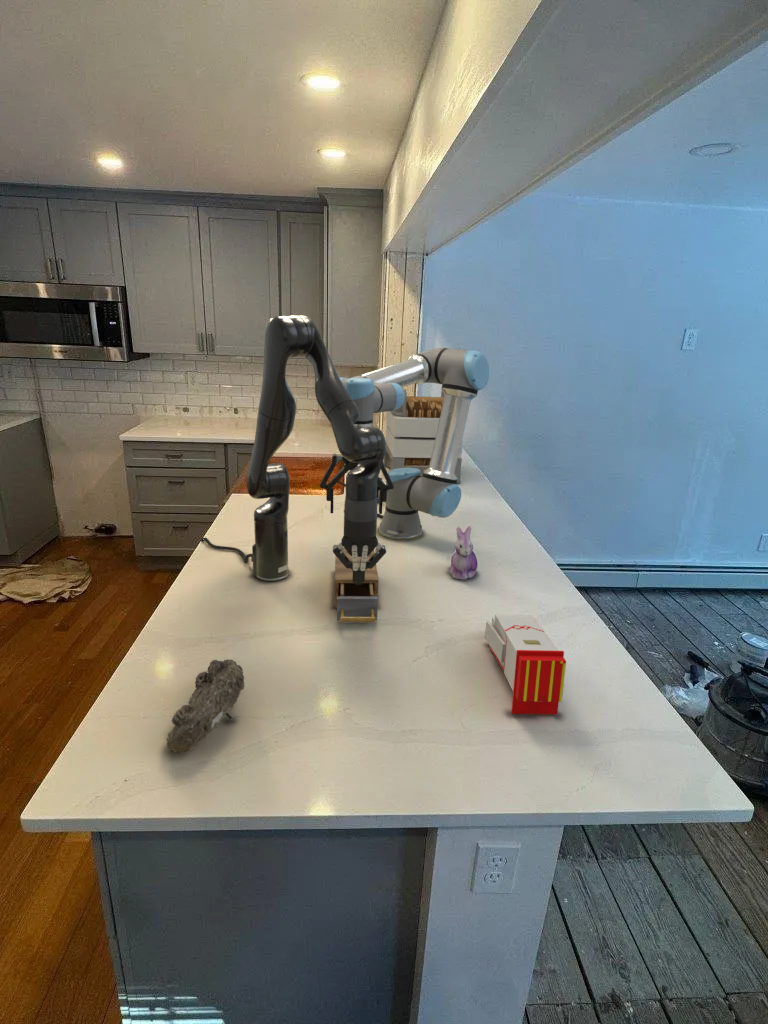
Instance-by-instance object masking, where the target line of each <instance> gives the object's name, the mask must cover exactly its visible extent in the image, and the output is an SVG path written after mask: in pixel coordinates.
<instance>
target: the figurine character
mask: <svg viewBox="0 0 768 1024" xmlns="http://www.w3.org/2000/svg"><path fill="white" fill-rule="evenodd" d="M380 479H381V480H382V481H383V478H382V477H380ZM380 489H381V487H380V486H379V485H378V484H377V503H379V493H380Z"/></svg>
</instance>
